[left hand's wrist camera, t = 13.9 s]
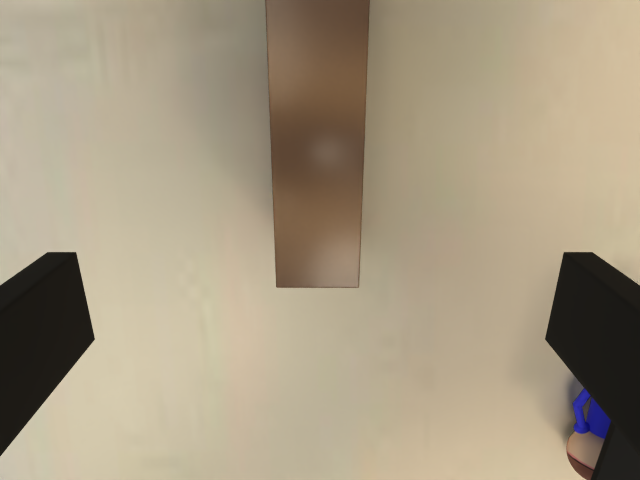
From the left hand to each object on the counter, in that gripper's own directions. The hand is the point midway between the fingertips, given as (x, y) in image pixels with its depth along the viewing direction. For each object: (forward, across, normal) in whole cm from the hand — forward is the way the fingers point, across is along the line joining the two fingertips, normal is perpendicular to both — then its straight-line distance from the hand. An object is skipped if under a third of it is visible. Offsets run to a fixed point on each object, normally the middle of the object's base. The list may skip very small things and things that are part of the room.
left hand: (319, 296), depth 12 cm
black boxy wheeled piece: (+23, -26, +22) cm, 41 cm away
